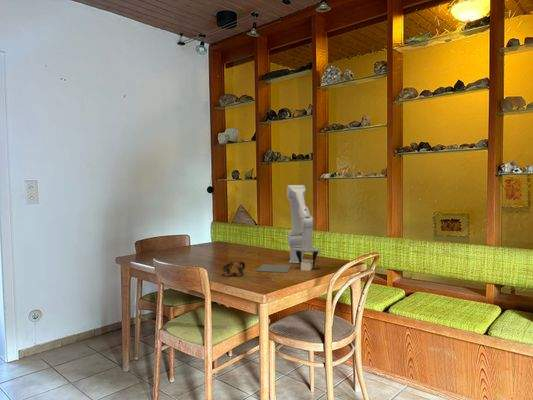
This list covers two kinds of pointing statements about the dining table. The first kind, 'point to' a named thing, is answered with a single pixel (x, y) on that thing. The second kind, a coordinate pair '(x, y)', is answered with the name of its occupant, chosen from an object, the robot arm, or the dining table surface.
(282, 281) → the dining table surface
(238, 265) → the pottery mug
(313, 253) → the robot arm
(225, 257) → the dining table surface
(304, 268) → the box
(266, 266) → the mat
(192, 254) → the dining table surface
